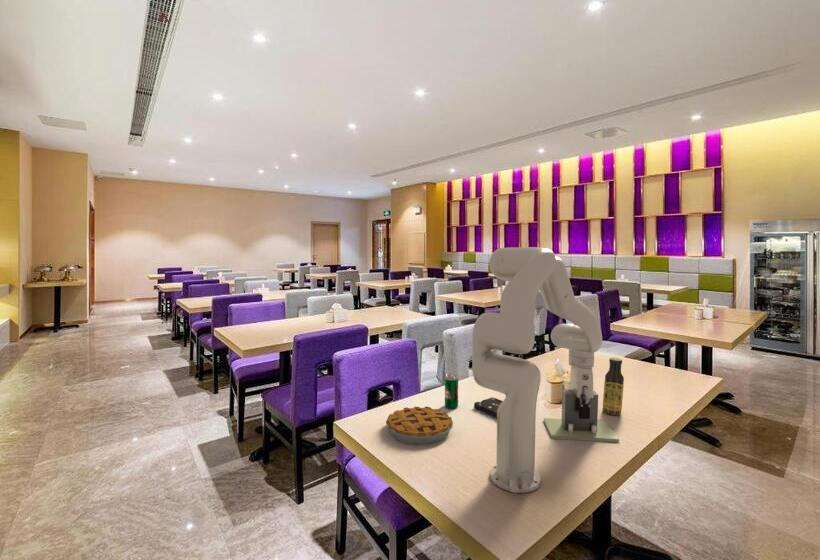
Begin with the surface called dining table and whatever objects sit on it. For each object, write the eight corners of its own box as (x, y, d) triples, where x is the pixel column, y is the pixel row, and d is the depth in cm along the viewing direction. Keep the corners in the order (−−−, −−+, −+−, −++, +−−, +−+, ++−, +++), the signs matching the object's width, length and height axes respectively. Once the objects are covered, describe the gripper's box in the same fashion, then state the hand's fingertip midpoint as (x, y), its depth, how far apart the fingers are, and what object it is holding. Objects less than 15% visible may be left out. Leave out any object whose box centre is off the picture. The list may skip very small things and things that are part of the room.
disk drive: (473, 410, 150) (504, 423, 138) (473, 402, 150) (504, 415, 138) (492, 403, 156) (523, 415, 144) (492, 396, 156) (523, 408, 144)
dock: (619, 442, 123) (619, 431, 123) (551, 438, 126) (551, 427, 126) (604, 424, 136) (605, 414, 136) (543, 420, 139) (543, 411, 139)
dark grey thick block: (597, 431, 128) (598, 395, 127) (564, 430, 130) (565, 393, 129) (593, 426, 132) (594, 390, 131) (561, 424, 134) (562, 389, 133)
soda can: (442, 405, 153) (442, 374, 152) (454, 403, 155) (454, 372, 154) (448, 410, 148) (448, 378, 148) (460, 408, 150) (460, 376, 149)
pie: (435, 413, 146) (435, 400, 146) (465, 439, 126) (465, 424, 125) (377, 423, 138) (377, 409, 138) (399, 453, 118) (399, 436, 117)
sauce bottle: (602, 414, 144) (603, 359, 143) (602, 408, 150) (604, 355, 148) (622, 417, 141) (624, 362, 140) (622, 411, 147) (624, 357, 145)
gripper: (602, 368, 120) (600, 424, 122) (585, 353, 137) (584, 402, 139) (576, 367, 121) (574, 422, 123) (562, 353, 138) (561, 401, 140)
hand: (579, 412), depth 131 cm, fingers open, 9 cm apart
